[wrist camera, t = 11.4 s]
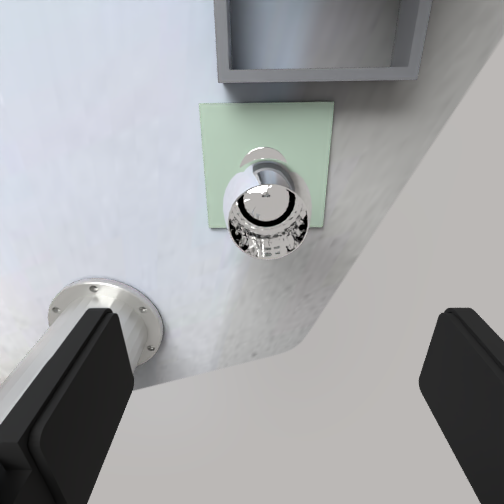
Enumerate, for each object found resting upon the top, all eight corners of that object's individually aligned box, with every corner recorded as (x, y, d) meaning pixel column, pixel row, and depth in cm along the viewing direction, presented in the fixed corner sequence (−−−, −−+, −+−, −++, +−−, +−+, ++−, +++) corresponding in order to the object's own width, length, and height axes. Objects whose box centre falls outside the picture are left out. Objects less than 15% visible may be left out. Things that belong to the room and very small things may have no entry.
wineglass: (221, 186, 30) (202, 244, 19) (248, 126, 27) (244, 154, 17) (277, 212, 31) (288, 281, 20) (308, 157, 29) (339, 201, 18)
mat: (322, 225, 32) (322, 227, 32) (209, 226, 32) (209, 228, 32) (333, 101, 27) (334, 101, 27) (199, 103, 27) (198, 103, 27)
